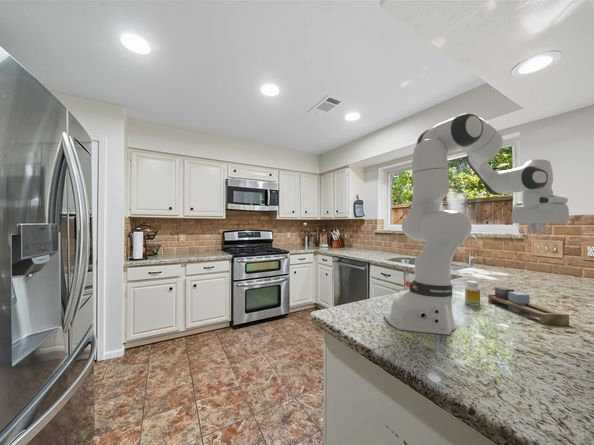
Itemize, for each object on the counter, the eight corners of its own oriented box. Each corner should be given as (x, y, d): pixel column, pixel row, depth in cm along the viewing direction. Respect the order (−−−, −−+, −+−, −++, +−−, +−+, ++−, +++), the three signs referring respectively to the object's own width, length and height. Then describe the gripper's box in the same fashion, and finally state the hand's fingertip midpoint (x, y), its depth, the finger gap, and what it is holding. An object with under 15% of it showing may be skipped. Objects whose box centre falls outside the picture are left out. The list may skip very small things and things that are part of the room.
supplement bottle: (482, 306, 102) (482, 283, 103) (468, 305, 104) (468, 282, 104) (476, 302, 108) (476, 280, 108) (462, 301, 109) (462, 279, 109)
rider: (517, 305, 97) (517, 294, 97) (508, 302, 101) (508, 291, 101) (529, 306, 97) (529, 294, 97) (520, 302, 101) (520, 292, 101)
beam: (543, 324, 84) (543, 304, 84) (488, 301, 109) (488, 286, 109) (569, 324, 84) (569, 304, 84) (508, 302, 109) (508, 286, 109)
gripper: (507, 202, 108) (506, 233, 108) (555, 197, 88) (555, 235, 88) (521, 203, 108) (521, 233, 108) (573, 197, 88) (572, 235, 88)
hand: (536, 234), depth 98 cm, fingers closed
